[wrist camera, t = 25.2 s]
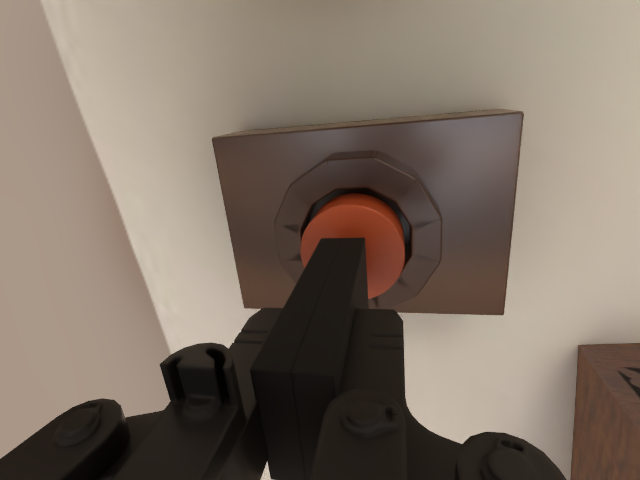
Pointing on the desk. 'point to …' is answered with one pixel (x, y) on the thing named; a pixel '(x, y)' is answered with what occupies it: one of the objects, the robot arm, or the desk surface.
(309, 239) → the button
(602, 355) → the tissue box cover
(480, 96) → the desk surface
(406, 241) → the console
